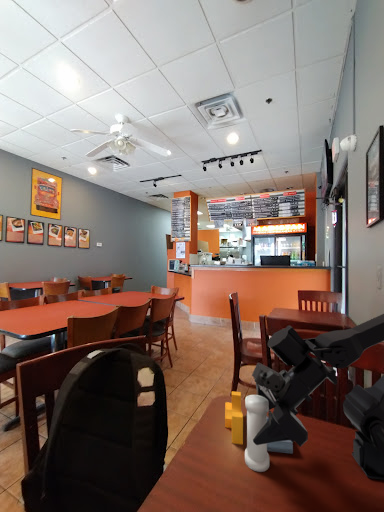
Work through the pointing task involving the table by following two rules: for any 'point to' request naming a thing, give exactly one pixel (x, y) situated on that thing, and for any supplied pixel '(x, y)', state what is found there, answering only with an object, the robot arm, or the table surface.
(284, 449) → the blue-grey square tray
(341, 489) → the table surface
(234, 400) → the pipe clamp
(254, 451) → the white domed pillar
